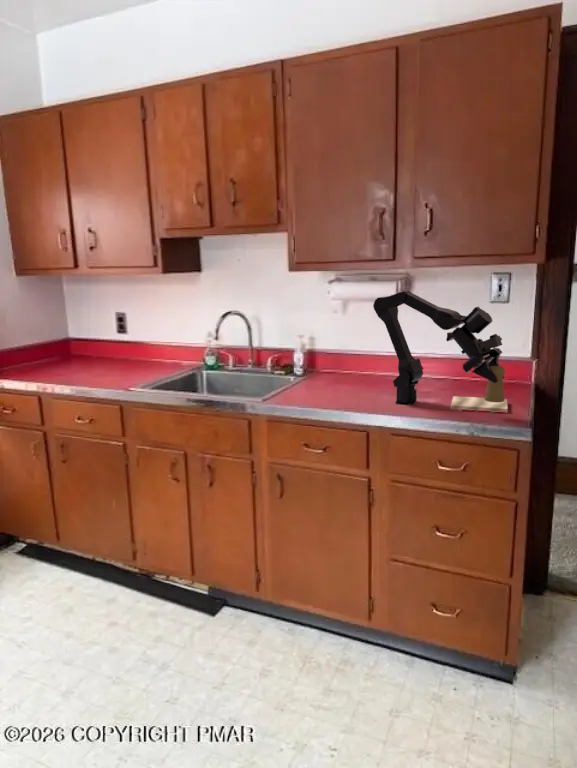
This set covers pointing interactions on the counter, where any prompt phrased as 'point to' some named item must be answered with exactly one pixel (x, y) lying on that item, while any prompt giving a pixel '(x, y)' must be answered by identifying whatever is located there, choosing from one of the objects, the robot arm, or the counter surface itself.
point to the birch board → (477, 404)
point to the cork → (495, 386)
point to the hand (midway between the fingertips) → (499, 380)
